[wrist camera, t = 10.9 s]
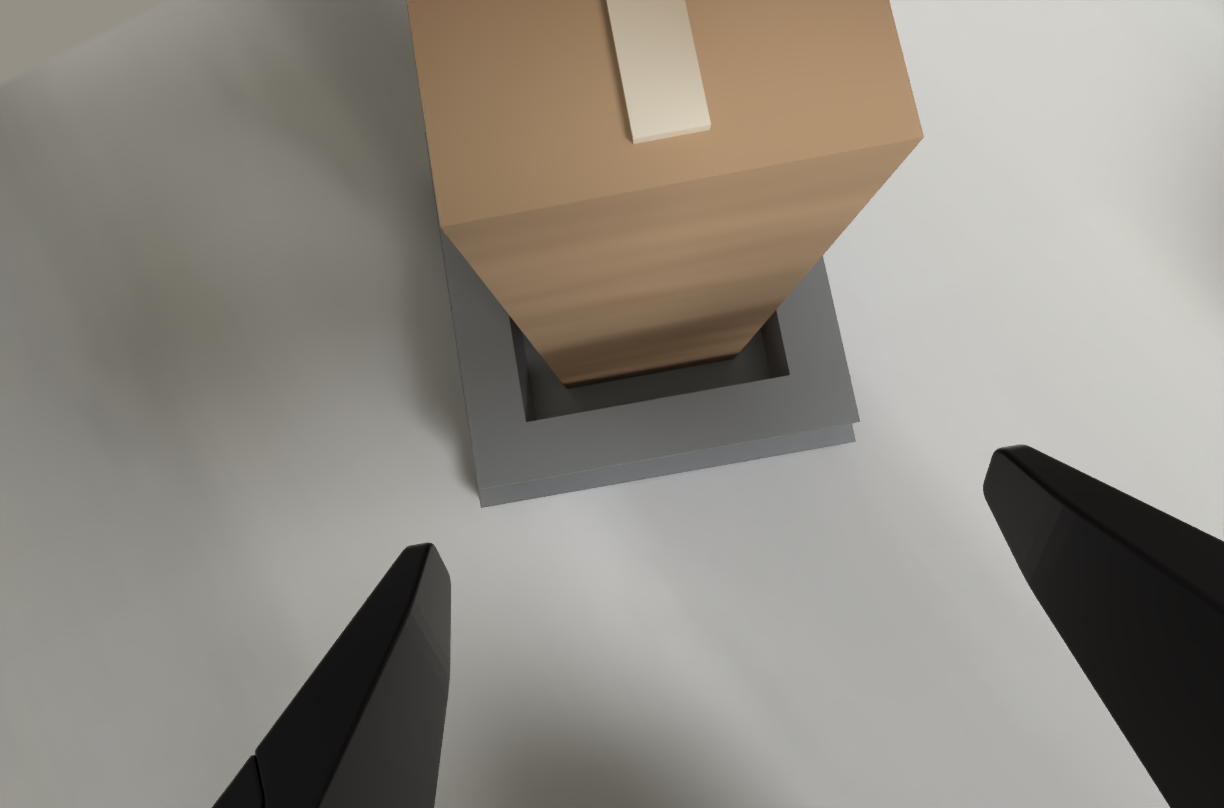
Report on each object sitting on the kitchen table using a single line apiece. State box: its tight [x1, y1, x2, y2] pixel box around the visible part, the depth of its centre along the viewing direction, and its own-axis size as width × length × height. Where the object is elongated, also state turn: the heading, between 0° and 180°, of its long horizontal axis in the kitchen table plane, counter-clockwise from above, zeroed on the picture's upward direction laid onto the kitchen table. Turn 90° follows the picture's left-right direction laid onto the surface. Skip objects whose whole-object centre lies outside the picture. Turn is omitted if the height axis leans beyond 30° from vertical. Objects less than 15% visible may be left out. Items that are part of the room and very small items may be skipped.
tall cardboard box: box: [406, 0, 924, 389], centre depth 12 cm, size 5×5×12 cm
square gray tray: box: [425, 132, 860, 508], centre depth 18 cm, size 11×11×3 cm
